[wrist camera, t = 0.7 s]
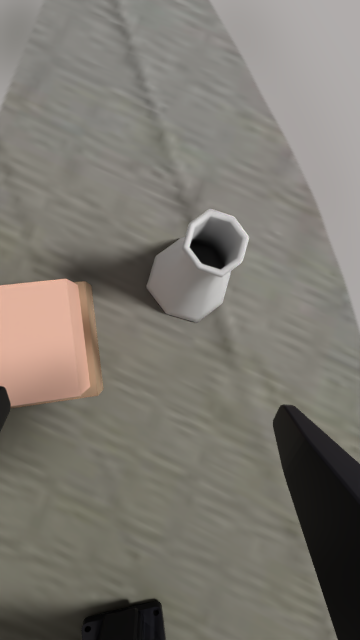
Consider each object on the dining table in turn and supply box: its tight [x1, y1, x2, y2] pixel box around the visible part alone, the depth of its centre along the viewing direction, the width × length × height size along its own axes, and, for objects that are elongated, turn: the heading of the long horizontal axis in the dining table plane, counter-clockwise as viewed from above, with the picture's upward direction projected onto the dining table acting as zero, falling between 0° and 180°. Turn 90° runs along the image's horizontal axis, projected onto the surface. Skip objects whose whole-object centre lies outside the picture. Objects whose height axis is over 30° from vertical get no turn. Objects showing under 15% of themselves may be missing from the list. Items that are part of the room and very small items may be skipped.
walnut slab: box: [11, 281, 103, 408], centre depth 20 cm, size 9×9×2 cm
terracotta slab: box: [0, 279, 90, 406], centre depth 17 cm, size 8×8×2 cm
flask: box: [146, 209, 249, 323], centre depth 17 cm, size 7×7×10 cm
